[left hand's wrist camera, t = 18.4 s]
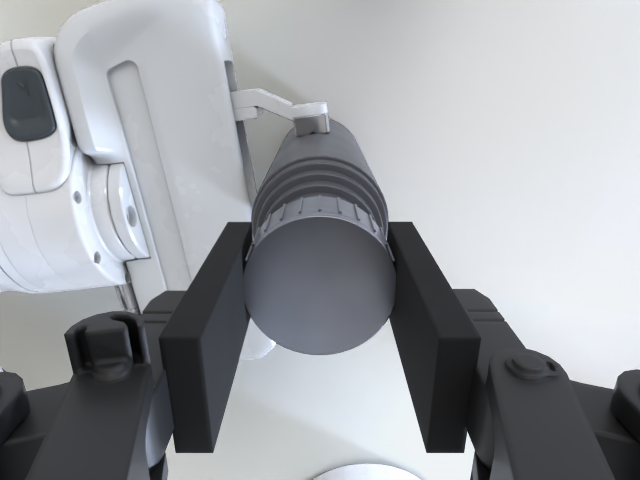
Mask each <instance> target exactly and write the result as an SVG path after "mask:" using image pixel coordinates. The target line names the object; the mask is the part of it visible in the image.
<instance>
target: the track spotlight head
mask: <svg viewBox="0 0 640 480" xmlns="http://www.w3.org/2000/svg"><path fill="white" fill-rule="evenodd" d="M329 128H330V132H327V133H322V134H316V133H314V132H312V133H310V134H309V135H305V136H298V137H296V134H295V127H294V128H293V129H292V130H291V131H290V132H289V133H288V134H287V136H286V137H285V139H284V141H283V143H282V145H281V147H280V149H279V151H278V153H277V155H276V157H275V159H274V161H273V163H272V165H271V167H270V169H269V171H268V173H267V175H266V177H265V179H264V181H263V183H262V185H261V187H260V189H259V191H258V193H257V195H256V198H255V200H254V204H253V208H252V215H251V222H252V234H253V239H254V238H255V235H256V232H257V230H258V228H259V227H262V225H263V224H264V222H265V221H266V220H267V219H268V216H269V214H273V213H274V212H275V211H277V210H278V209H280V208H281V207H283V204H288V203H290V202H293V201H296V200H299V199H300V198H301V197H303V198H307V197H316V196H319V195H321V196H322V197H332V198H337V197H339V198H340V199H341V200H344V201H347V202H349V203H351V204H357V207H359V208H360V209H362V210H363V211H364V212H365V213H367V214H370V215H371V216H372V219H373V220H374V221H375V223H376V224H377V226H378V227H379V228H380V227H381V228H382V230H383V233H384V236H385V238H386V237H387V231H388V221H389V220H388V210H387V205H386V202H385V199H384V196H383V194H382V192H381V190H380V188H379V186H378V184H377V182H376V180H375V178H374V176H373V174H372V172H371V170H370V168H369V166H368V164H367V162H366V160H365V158H364V156H363V154H362V152H361V150H360V148H359V146H358V144H357V142H356V140H355V138H354V137H353V135H352V134H351V133H350V131H349V130H348V129H347V128H345V127H344V126H343V125H341V124H340V123H338V122H336V121H333V120H330V119H329Z"/></svg>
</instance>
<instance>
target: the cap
mask: <svg viewBox="0 0 640 480" xmlns="http://www.w3.org/2000/svg"><path fill="white" fill-rule="evenodd" d="M245 263H246V264H245V268H244V272H243V281H244V296H245V306H246V309H247V311H248V313H249V315H250V317H251V318H252V320H253V321H254V323H255V324H256V326H257V327H258V328H259V329H260V330H261V331H262V332H263V333H264V334H265V335H266V336H267V337H268V338H270V339H271V340H273V341H274V342H275V343H277V344H279V345H281V346H283V347H285V348H287V349H290V350H292V351H296V352H299V353H304V354H311V355H329V354H336V353H341V352H344V351H347V350H350V349H353V348H355V347H357V346H359V345H361V344H362V343H364V342H366V341H367V340H369V339H370V338H371V337H373V336H374V335H375V334H376V333H377V332H378V331H379V330H380V329H381V328H382V326H383V325H384V324H385V323H386V321H387V320H388V318H389V316H390V314H391V312H392V310H393V308H394V305H395V292H396V276H397V273H396V268H395V265H394V263H395V259H394V257H393V254H392V252H391V249H390V247H389V244H388V242H387V241H386V238H385V236H384V233H383V230H382V228H381V227H380V228H379V227H378V226H377V224H376V223H375V221H374V220H373V219H372V216H371V215H370V214H367V213H365V212H364V211H363V210H362V209H360V208H359V207H357V204H351V203H349V202H347V201H344V200H341V199H340V198H339V197H337V198H332V197H322V196H321V195H319V196H316V197H307V198H303V197H301V198H300V199H299V200H296V201H293V202H290V203H288V204H283V207H281V208H280V209H278V210H277V211H275V212H274V213H273V214H269V216H268V219H267V220H266V221H265V222H264V224H263V225H262V227H259V228H258V230H257V232H256V235H255V238H254V240H253V242H252V243H251V246H250V248H249V251H248V253H247V256H246V259H245Z"/></svg>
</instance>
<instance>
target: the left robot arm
mask: <svg viewBox="0 0 640 480" xmlns="http://www.w3.org/2000/svg"><path fill="white" fill-rule="evenodd" d="M252 242H253V236H252V222H228V223H227V224H226V226H225V228H224V229H223V231H222V233H221V234H220V236H219V238H218V239H217V241H216V243H215V244H214V246H213V248H212V249H211V251H210V253H209V254H208V256H207V258H206V259H205V261H204V263H203V264H202V266H201V268H200V269H199V271H198V273H197V274H196V276H195V278H194V279H193V281H192V283H191V284H190V286H189V288H188V289H187V291H164V292H163V293H161V294H160V295H158V296H156V297H155V298H153V299H152V300H150V302H149V303H148V305H147V306H146V307H145V309H144V310H143V311H142V314H140V315H138V314H136V313H132V312H127V311H112V312H107V313H102V314H97V315H94V316H92V317H89V318H86V319H83V320H82V321H80V322H78V323H77V324H75V325H73V326H72V327H71V328H70V329H69V330H68V331H67V332H66V333H65V334H64V336H65V340H66V344H67V348H68V353H69V357H70V361H71V365H72V369H73V373H74V374H73V376H72V378H71V381H70V382H68V383H64V384H61V385H56V386H51V387H46V388H41V389H36V390H31V391H27V392H26V390H25V386H24V383H23V379H22V378H21V377H19V376H18V375H17V374H16V373H10V372H0V480H167V475H168V466H167V460H166V454H165V450H166V448H167V445H168V443H169V440H170V438H171V435H172V433H173V438H174V444H175V451H176V453H213V451H214V448H215V444H216V441H217V437H218V433H219V430H220V426H221V423H222V419H223V415H224V412H225V408H226V405H227V401H228V397H229V394H230V390H231V386H232V383H233V379H234V376H235V372H236V368H237V365H238V361H239V358H240V354H241V350H242V347H243V343H244V340H245V336H246V332H247V329H248V325H249V322H250V318H251V317H250V315H249V313H248V311H247V309H246V306H245V296H244V281H243V272H244V268H245V264H246V263H245V259H246V256H247V253H248V251H249V248H250V246H251V243H252ZM387 242H388V244H389V247H390V249H391V252H392V254H393V257H394V259H395V263H394V265H395V268H396V273H397V276H396V292H395V305H394V308H393V310H392V312H391V314H390V316H389V319H390V323H391V326H392V330H393V333H394V337H395V341H396V344H397V348H398V351H399V355H400V359H401V362H402V366H403V369H404V373H405V377H406V380H407V384H408V388H409V391H410V395H411V398H412V402H413V406H414V409H415V413H416V416H417V420H418V424H419V427H420V431H421V434H422V438H423V442H424V445H425V449H426V452H427V453H464V449H465V442H466V436H467V431H468V434H469V436H470V439H471V441H472V444H473V446H474V448H475V454H474V460H473V466H472V472H471V478H470V480H640V370H637V369H636V370H630V371H624V372H623V373H622V374H621V375H619V376H618V378H617V382H616V385H615V388H614V390H613V389H608V388H603V387H598V386H593V385H588V384H583V383H579V382H575V381H571V380H569V378H568V375H567V373H566V372H565V371H564V369H563V368H562V367H561V365H560V364H558V363H557V362H555V361H554V360H553V359H551V358H550V357H548V356H546V355H543V354H541V353H539V352H536V351H533V350H528V349H526V348H525V347H524V345H523V344H522V343H521V341H520V340H519V338H518V337H517V336H516V334H515V333H514V332H513V330H512V329H511V328H510V326H509V325H508V324H507V322H505V321H504V318H503V317H502V315H501V314H500V313H499V312H498V311H497V309H496V307H495V306H494V304H493V303H492V302H491V300H490V299H489V298H487V297H486V296H484V295H483V294H481V293H480V292H478V291H476V290H475V289H452V288H451V287H450V285H449V283H448V282H447V280H446V278H445V276H444V275H443V273H442V271H441V270H440V268H439V266H438V265H437V263H436V261H435V260H434V258H433V256H432V255H431V253H430V251H429V250H428V248H427V246H426V245H425V243H424V241H423V240H422V238H421V236H420V235H419V233H418V231H417V230H416V228H415V226H414V225H413V223H412V222H388V231H387Z"/></svg>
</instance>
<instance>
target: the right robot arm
mask: <svg viewBox="0 0 640 480" xmlns="http://www.w3.org/2000/svg"><path fill="white" fill-rule="evenodd" d="M262 108H263V109H265V110H268V111H270V112H272V113H275V114H277V115H280V116H282V117H284V118H287V119H289V120H292V121H294V127H295V134H296V137H298V136H305V135H309V134H310V133H312V132H314V133H316V134H322V133H327V132H330V128H329V119H328V110H327V102H326V101H324V102H313V103H306V104H298V105H293V102H290V101H288V100H286V99H283V98H281V97H279V96H277V95H274V94H272V93H270V92H267V91H265V90H263V89H261V88H254V89H247V90H238V84H237V78H236V73H235V67H234V62H233V56H232V51H231V45H230V39H229V34H228V28H227V23H226V17H225V12H224V9H223V7H222V5H221V4H220V3H219V2H218V1H217V0H107V1H104V2H101V3H98V4H95V5H92V6H89V7H87V8H85V9H82V10H80V11H79V12H77V13H75V14H74V15H72V16H71V17H70V18H68V19H67V20H66V21H65V22H64V23H63V25H62V26H61V28H60V29H59V31H58V33H57V36H56V37H29V38H20V39H14V40H9V41H6V42H3V43H2V44H0V292H3V291H9V290H12V291H18V292H24V293H31V294H44V293H53V292H62V291H71V290H80V289H88V288H97V287H106V286H115V289H116V292H117V295H118V298H119V301H120V304H121V306H122V309H123V311H127V312H132V313H136V314H138V315H140V314H142V311H143V310H144V309H145V307H146V306H147V305H148V303H149V302H150V300H152V299H153V298H155V297H156V296H158V295H160V294H161V293H163V292H164V291H187V289H188V288H189V286H190V284H191V283H192V281H193V279H194V278H195V276H196V274H197V273H198V271H199V269H200V268H201V266H202V264H203V263H204V261H205V259H206V258H207V256H208V254H209V253H210V251H211V249H212V248H213V246H214V244H215V243H216V241H217V239H218V238H219V236H220V234H221V233H222V231H223V229H224V228H225V226H226V224H227V223H228V222H251V215H252V208H253V204H254V200H255V198H256V195H257V190H256V184H255V179H254V173H253V168H252V162H251V156H250V151H249V145H248V140H247V134H246V129H245V123H244V120H249V119H256V118H257V117H258V116H260V115H261V114H262V112H263V111H262ZM252 236H253V234H252ZM253 240H254V239H253ZM275 345H276V343H275V342H274V341H273V340H271V339H270V338H268V337H267V336H266V335H265V334H264V333H263V332H262V331H261V330H260V329H259V328H258V327H257V326H256V324H255V323H254V321H253V320H252V318H250V322H249V325H248V329H247V332H246V336H245V340H244V343H243V347H242V350H241V354H240V358H239V360H253V359H259V358H262V357H263V356H265V355H266V354H267V353H268V352H269V351H271V350H272V349H273V348H274V347H275ZM0 372H6V371H5V370H4V369H3V368H1V366H0ZM313 480H421V479H419V478H418V477H416V476H415V475H413V474H411V473H409V472H407V471H405V470H402V469H399V468H396V467H392V466H388V465H382V464H353V465H347V466H343V467H339V468H335V469H333V470H330V471H327V472H325V473H323V474H321V475H319V476H317V477H316V478H314V479H313Z"/></svg>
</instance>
